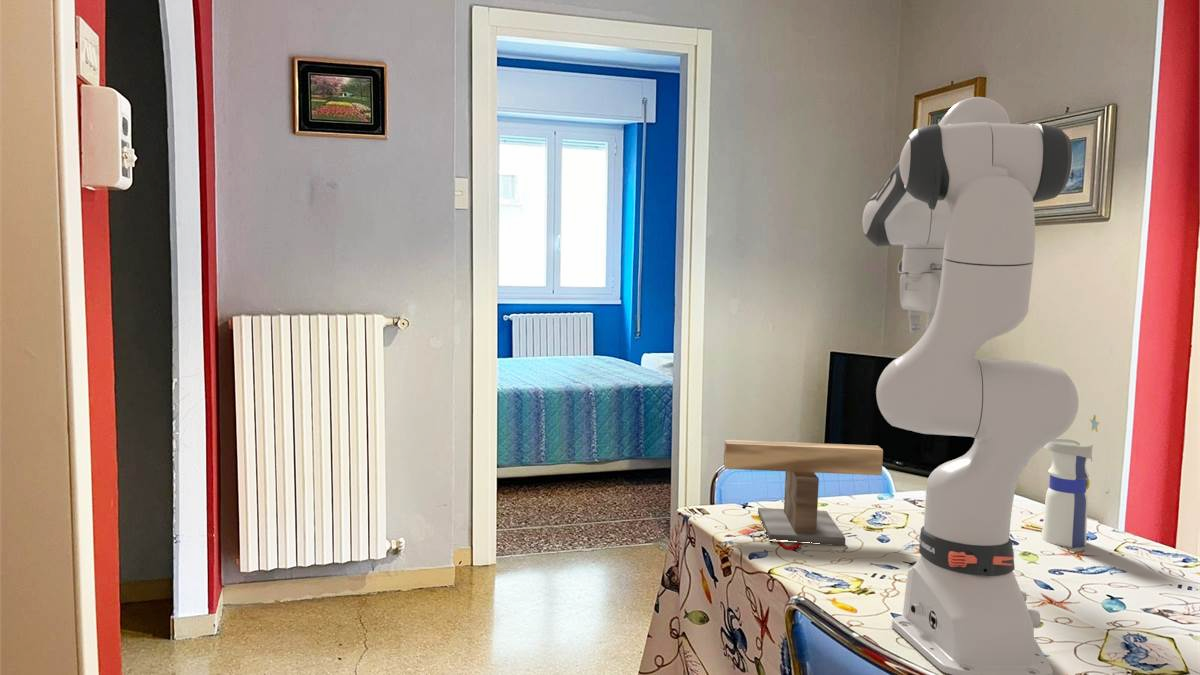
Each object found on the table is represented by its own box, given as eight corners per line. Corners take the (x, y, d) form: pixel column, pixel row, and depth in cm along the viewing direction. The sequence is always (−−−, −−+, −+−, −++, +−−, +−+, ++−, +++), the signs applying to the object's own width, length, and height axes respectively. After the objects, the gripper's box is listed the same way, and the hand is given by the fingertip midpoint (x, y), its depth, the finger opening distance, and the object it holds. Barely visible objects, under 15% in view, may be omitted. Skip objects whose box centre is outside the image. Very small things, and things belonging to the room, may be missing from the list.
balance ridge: (845, 545, 157) (848, 482, 156) (769, 542, 157) (771, 479, 157) (825, 518, 174) (828, 461, 174) (757, 514, 175) (760, 458, 174)
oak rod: (881, 475, 162) (883, 449, 162) (725, 468, 164) (726, 443, 164) (876, 470, 166) (877, 445, 166) (723, 464, 168) (724, 439, 168)
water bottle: (1063, 532, 169) (1071, 409, 167) (1098, 545, 160) (1108, 416, 159) (1029, 534, 167) (1037, 410, 165) (1063, 548, 158) (1072, 417, 156)
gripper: (961, 263, 154) (957, 339, 155) (926, 265, 174) (922, 331, 175) (926, 263, 154) (922, 337, 155) (895, 264, 175) (892, 330, 176)
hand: (922, 334), depth 165 cm, fingers open, 8 cm apart
